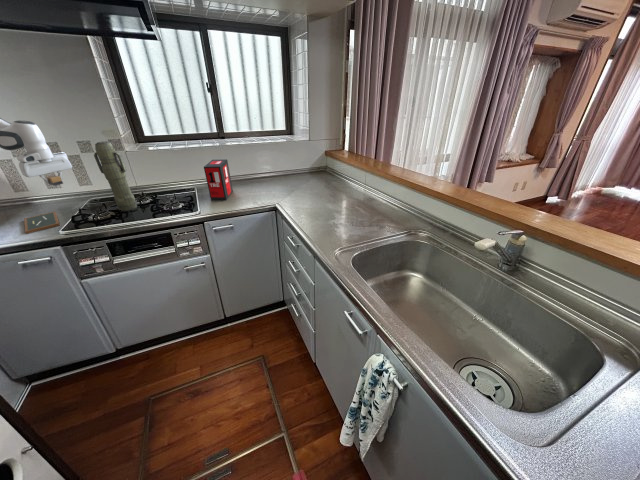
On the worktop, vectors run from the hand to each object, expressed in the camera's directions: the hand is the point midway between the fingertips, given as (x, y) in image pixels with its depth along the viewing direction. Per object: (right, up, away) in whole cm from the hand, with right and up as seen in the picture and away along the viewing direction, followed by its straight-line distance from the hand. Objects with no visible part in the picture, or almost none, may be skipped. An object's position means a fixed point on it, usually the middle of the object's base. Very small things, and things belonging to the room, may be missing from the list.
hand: (54, 180), depth 144 cm
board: (+6, -24, -12) cm, 27 cm away
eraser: (0, -1, +1) cm, 2 cm away
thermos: (+37, -14, +4) cm, 40 cm away
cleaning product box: (+84, -5, +21) cm, 86 cm away
